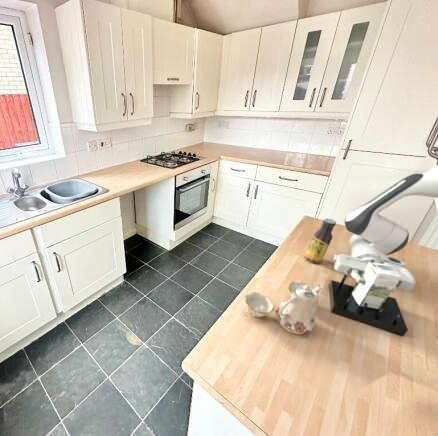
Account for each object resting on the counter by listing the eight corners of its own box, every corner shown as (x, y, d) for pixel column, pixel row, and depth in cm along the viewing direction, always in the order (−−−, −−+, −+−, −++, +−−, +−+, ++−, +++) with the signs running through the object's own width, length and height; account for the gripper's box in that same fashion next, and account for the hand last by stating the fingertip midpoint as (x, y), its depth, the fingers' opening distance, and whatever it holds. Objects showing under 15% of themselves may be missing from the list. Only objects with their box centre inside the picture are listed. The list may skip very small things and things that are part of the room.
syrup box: (370, 297, 82) (390, 263, 75) (379, 310, 77) (402, 276, 70) (351, 293, 84) (368, 260, 77) (358, 306, 79) (378, 272, 72)
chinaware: (295, 291, 91) (303, 253, 85) (341, 322, 77) (356, 280, 70) (234, 313, 83) (239, 273, 76) (273, 354, 68) (283, 309, 62)
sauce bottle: (301, 257, 106) (315, 217, 97) (311, 254, 108) (326, 215, 99) (314, 266, 101) (331, 225, 92) (325, 262, 103) (342, 222, 93)
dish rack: (391, 304, 83) (402, 288, 79) (403, 336, 73) (416, 320, 69) (328, 286, 91) (335, 270, 88) (330, 312, 81) (339, 296, 77)
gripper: (336, 246, 90) (339, 267, 79) (410, 263, 80) (425, 290, 70) (330, 259, 93) (332, 281, 82) (401, 278, 83) (414, 305, 73)
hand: (375, 285), depth 76 cm, fingers closed on syrup box, 6 cm apart
